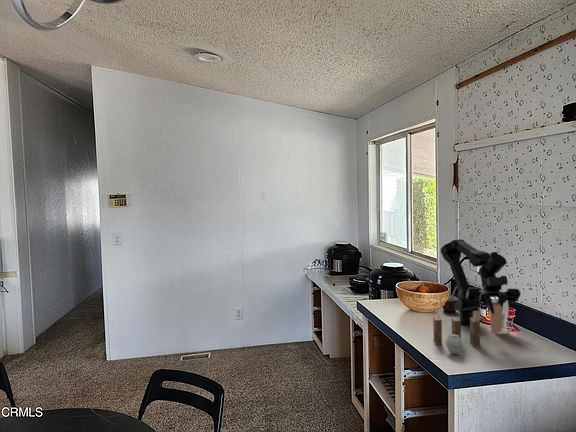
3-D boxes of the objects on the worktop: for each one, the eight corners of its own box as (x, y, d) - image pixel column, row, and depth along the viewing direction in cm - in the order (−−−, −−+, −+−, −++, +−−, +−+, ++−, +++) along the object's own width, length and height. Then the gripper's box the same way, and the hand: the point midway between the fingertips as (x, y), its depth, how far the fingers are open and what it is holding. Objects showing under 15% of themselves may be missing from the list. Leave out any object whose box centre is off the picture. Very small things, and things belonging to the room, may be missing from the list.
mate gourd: (440, 310, 202) (439, 281, 202) (455, 309, 202) (455, 280, 201) (445, 314, 195) (445, 284, 194) (461, 314, 195) (461, 284, 194)
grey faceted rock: (461, 350, 150) (461, 332, 150) (465, 357, 143) (465, 339, 143) (444, 349, 152) (444, 331, 151) (447, 356, 145) (447, 338, 144)
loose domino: (494, 331, 151) (494, 306, 150) (490, 327, 156) (490, 302, 155) (501, 331, 151) (501, 306, 150) (497, 327, 155) (497, 302, 155)
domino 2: (454, 345, 155) (454, 320, 154) (451, 341, 160) (451, 316, 159) (460, 346, 154) (460, 321, 154) (458, 341, 159) (457, 317, 159)
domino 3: (473, 346, 153) (473, 321, 153) (470, 342, 158) (470, 317, 158) (480, 347, 153) (479, 321, 152) (476, 342, 158) (476, 317, 157)
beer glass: (506, 330, 171) (506, 295, 170) (509, 335, 164) (509, 300, 163) (488, 328, 173) (488, 295, 172) (491, 334, 166) (491, 299, 166)
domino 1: (435, 344, 156) (435, 320, 156) (433, 340, 161) (433, 316, 161) (441, 345, 156) (441, 320, 155) (439, 340, 161) (439, 316, 160)
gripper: (467, 267, 157) (475, 302, 147) (519, 268, 154) (530, 304, 144) (463, 282, 166) (469, 316, 156) (511, 283, 162) (521, 318, 152)
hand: (497, 313), depth 151 cm, fingers closed on loose domino, 2 cm apart
